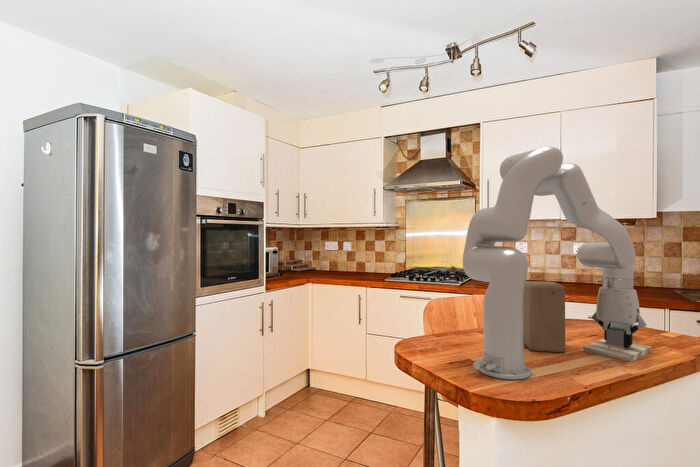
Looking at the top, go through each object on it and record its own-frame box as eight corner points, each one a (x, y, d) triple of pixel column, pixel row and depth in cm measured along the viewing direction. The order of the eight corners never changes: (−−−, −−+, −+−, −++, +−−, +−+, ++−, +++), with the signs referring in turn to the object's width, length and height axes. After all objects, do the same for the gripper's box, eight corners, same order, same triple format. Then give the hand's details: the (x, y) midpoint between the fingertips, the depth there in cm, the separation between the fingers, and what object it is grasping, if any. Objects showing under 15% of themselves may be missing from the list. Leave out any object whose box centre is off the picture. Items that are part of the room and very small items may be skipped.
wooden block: (566, 353, 112) (566, 285, 112) (530, 351, 114) (529, 284, 114) (555, 344, 122) (555, 281, 122) (521, 342, 124) (521, 280, 124)
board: (630, 361, 104) (630, 356, 104) (583, 351, 114) (583, 346, 114) (651, 351, 114) (651, 346, 114) (606, 342, 123) (606, 338, 124)
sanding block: (622, 349, 111) (621, 331, 111) (606, 345, 114) (606, 329, 114) (629, 345, 115) (629, 329, 115) (614, 342, 118) (614, 326, 118)
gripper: (582, 282, 119) (582, 341, 119) (647, 287, 106) (647, 354, 105) (592, 280, 124) (592, 337, 123) (656, 286, 110) (657, 349, 110)
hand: (618, 344), depth 114 cm, fingers closed on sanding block, 4 cm apart
